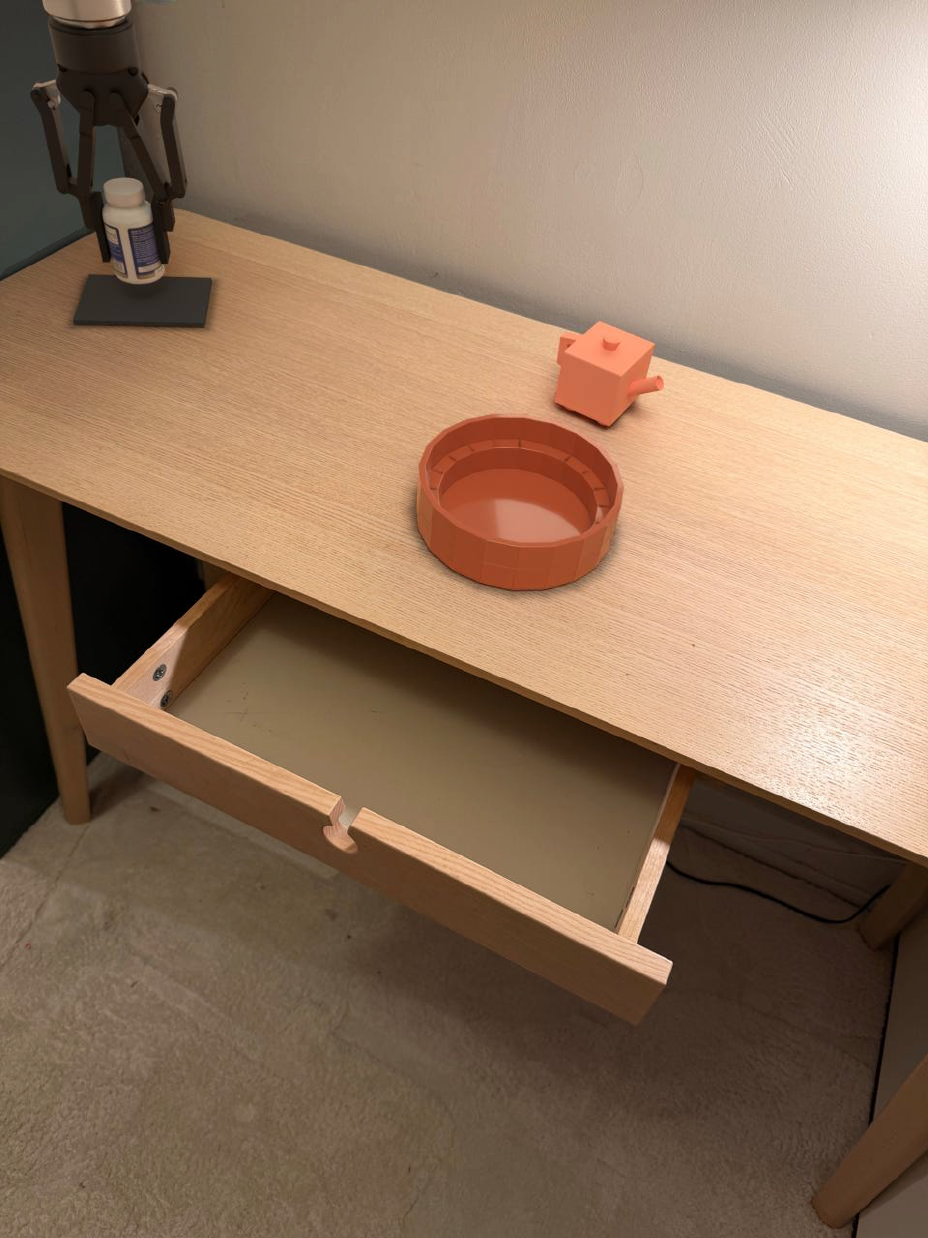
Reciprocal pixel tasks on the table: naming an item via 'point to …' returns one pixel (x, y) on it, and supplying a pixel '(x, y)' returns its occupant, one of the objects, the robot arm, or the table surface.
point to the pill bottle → (131, 232)
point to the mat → (144, 302)
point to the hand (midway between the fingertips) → (137, 256)
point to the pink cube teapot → (603, 372)
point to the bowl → (517, 501)
